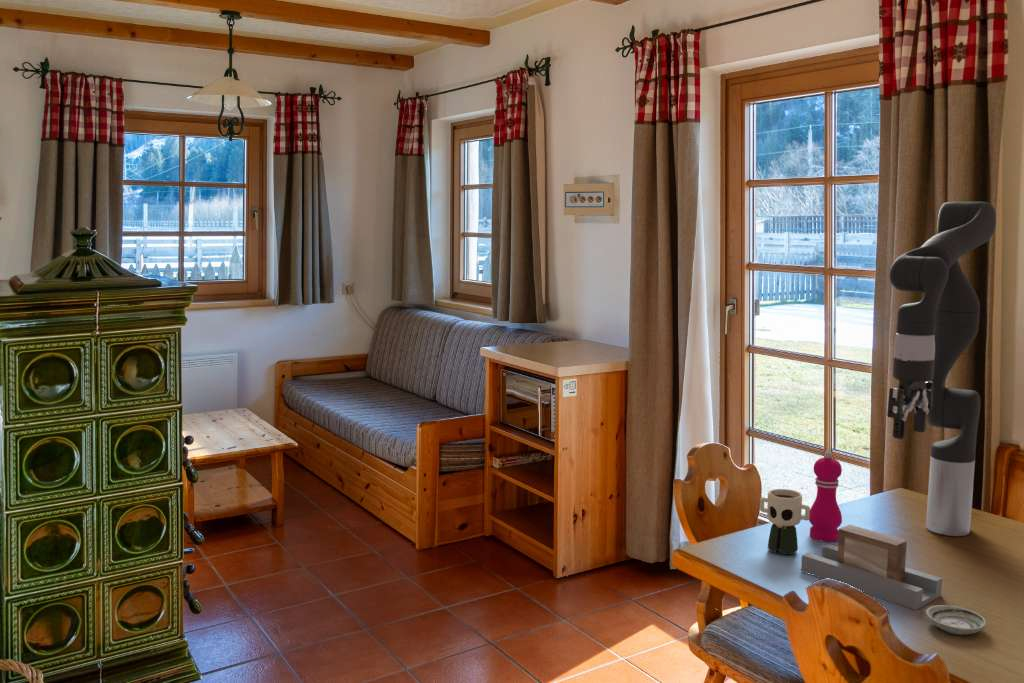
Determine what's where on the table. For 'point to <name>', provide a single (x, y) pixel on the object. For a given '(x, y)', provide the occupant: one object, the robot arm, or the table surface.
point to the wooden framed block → (872, 552)
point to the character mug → (784, 518)
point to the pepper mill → (826, 500)
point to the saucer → (956, 619)
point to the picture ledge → (875, 579)
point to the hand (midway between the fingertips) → (909, 434)
